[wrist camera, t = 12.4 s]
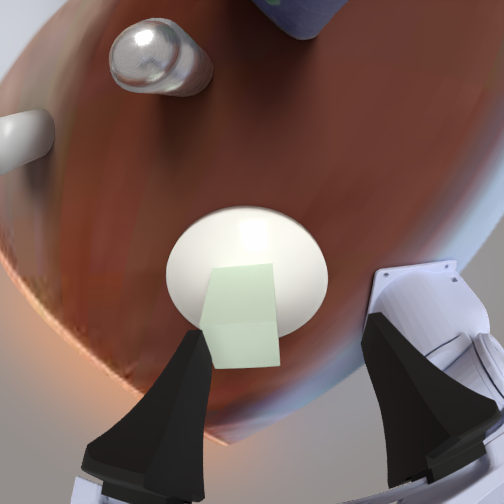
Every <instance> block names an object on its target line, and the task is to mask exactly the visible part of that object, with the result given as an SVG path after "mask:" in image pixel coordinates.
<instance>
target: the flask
mask: <svg viewBox="0 0 504 504" xmlns="http://www.w3.org/2000/svg"><path fill="white" fill-rule="evenodd" d="M250 1H251V2H253V3H254V4H255V5H256V7H257V8H259V9H260V10H261V11H262V13H264V15H265V16H267V17H268V18H269V19H270V21H272V22H273V23H274V24H275V25H277V26H278V28H279V29H281V31H283V32H284V33H286V34H287V35H288V36H290V37H292V38H295V39H296V40H307V39H311V38H314V37H315V36H317V35H318V34H319V32H320V31H321V30H322V28H323V27H324V26H325V25H326V24H327V23H328V22H329V21H330V20H331V18H332V17H333V15H334V14H335V13H337V12H338V10H339V9H340V8H341V7H342V6H343V5H344V4H345V3H346V2H347V1H348V0H250Z"/></svg>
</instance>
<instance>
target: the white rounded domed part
mask: <svg viewBox="0 0 504 504" xmlns="http://www.w3.org/2000/svg"><path fill="white" fill-rule="evenodd" d="M54 138H55V124H54V120H53V118H52V116H51V114H50V113H49V112H48V111H47V110H45V109H35V110H30V111H26V112H21V113H17V114H13V115H9V116H5V117H1V118H0V175H4V174H6V173H8V172H10V171H12V170H14V169H16V168H18V167H20V166H22V165H24V164H26V163H29V162H31V161H33V160H35V159H38V158H40V157H43V156H44V155H46V154H47V153H48V152H49V151H50V149H51V147H52V145H53V142H54Z"/></svg>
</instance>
